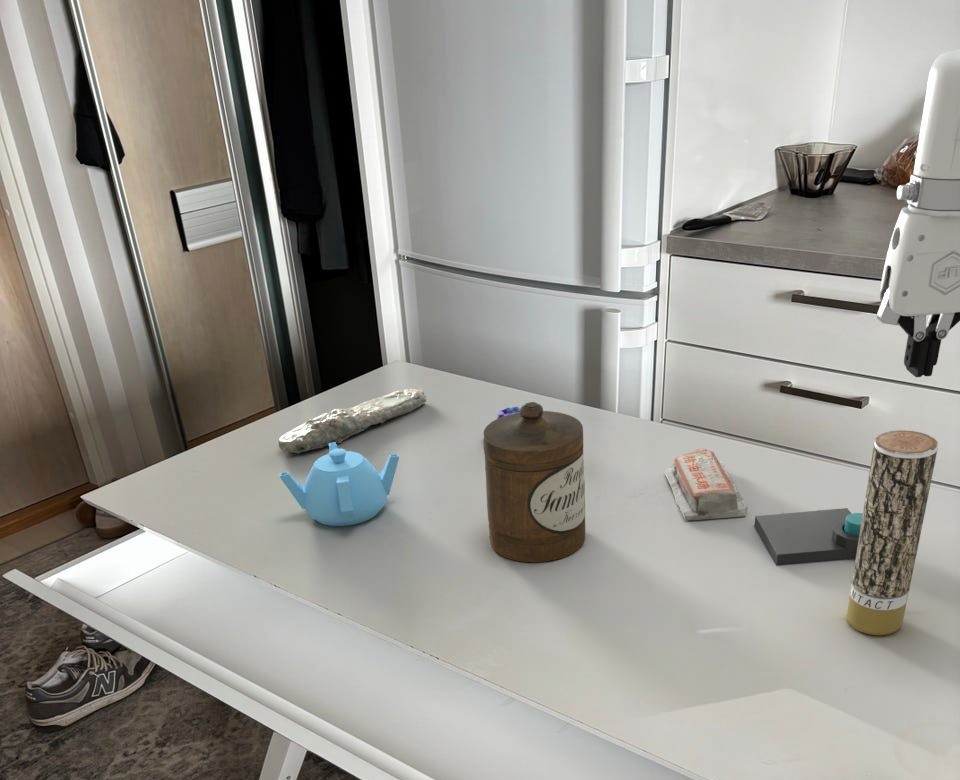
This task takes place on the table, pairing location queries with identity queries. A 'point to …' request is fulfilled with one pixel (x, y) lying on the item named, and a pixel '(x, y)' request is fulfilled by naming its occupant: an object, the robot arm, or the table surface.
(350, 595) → the table surface
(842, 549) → the push button base
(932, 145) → the robot arm
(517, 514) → the wooden container
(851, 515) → the tare button
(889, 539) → the paper tube
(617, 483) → the table surface
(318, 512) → the teapot
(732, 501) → the packaged product
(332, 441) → the foil wrapped baguette
